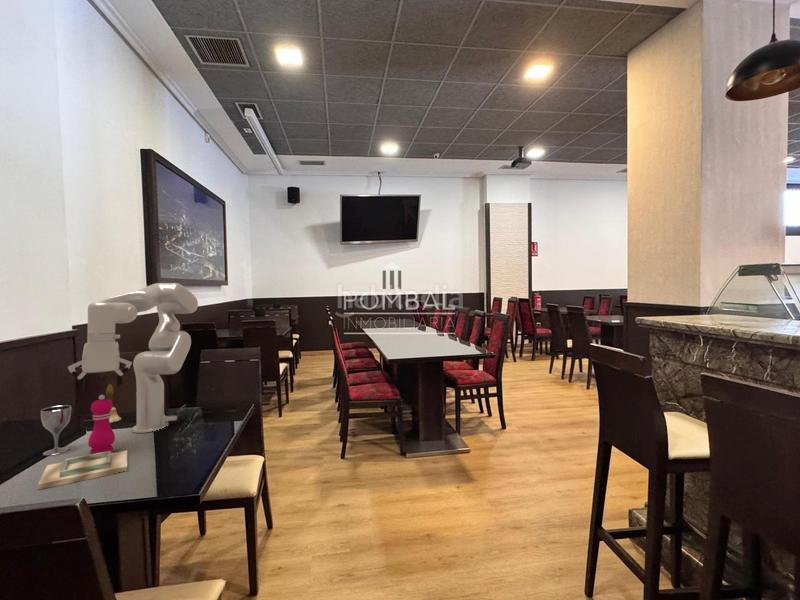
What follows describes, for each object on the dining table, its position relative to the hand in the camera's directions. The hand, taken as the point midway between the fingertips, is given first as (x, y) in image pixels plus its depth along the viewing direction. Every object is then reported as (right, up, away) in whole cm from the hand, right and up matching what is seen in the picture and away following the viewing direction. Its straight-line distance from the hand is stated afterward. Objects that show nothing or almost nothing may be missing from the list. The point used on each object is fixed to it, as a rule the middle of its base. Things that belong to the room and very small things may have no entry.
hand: (100, 388), depth 132 cm
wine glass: (-17, -23, +2) cm, 28 cm away
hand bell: (-26, -23, +38) cm, 52 cm away
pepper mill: (0, -22, 0) cm, 22 cm away
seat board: (+6, -22, -14) cm, 27 cm away
